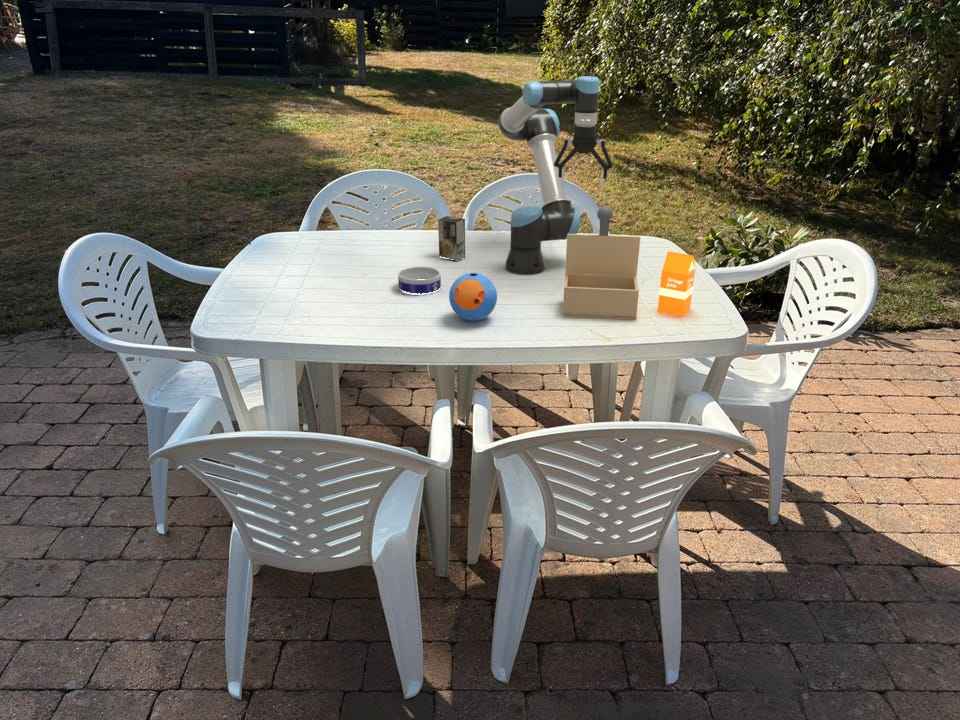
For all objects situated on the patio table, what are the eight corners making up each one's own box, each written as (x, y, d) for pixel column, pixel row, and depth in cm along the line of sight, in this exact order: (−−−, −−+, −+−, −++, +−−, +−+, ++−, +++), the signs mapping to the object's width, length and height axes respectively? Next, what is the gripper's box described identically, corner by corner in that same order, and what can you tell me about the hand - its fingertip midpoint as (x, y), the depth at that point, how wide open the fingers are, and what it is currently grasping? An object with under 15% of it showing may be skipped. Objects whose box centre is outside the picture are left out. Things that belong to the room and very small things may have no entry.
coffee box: (466, 258, 311) (465, 218, 304) (457, 262, 306) (456, 222, 299) (447, 254, 315) (446, 215, 308) (438, 258, 310) (437, 219, 304)
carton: (562, 316, 255) (563, 287, 251) (563, 300, 268) (565, 273, 263) (636, 319, 252) (638, 290, 248) (634, 304, 265) (636, 276, 261)
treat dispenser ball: (500, 312, 258) (501, 268, 252) (491, 329, 245) (491, 284, 238) (456, 308, 262) (455, 265, 255) (444, 325, 248) (443, 280, 241)
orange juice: (682, 316, 255) (689, 258, 246) (657, 311, 259) (663, 254, 250) (690, 309, 261) (697, 252, 252) (665, 304, 265) (671, 248, 256)
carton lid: (568, 207, 251) (568, 203, 255) (565, 274, 263) (565, 268, 267) (643, 210, 248) (642, 205, 253) (636, 277, 260) (636, 271, 264)
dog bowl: (417, 278, 289) (416, 263, 286) (449, 287, 281) (449, 271, 278) (389, 290, 278) (389, 274, 275) (422, 299, 270) (422, 283, 267)
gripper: (548, 126, 260) (545, 188, 269) (623, 127, 257) (618, 191, 266) (549, 122, 267) (546, 184, 276) (622, 124, 264) (617, 186, 273)
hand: (581, 187), depth 271 cm, fingers open, 13 cm apart
